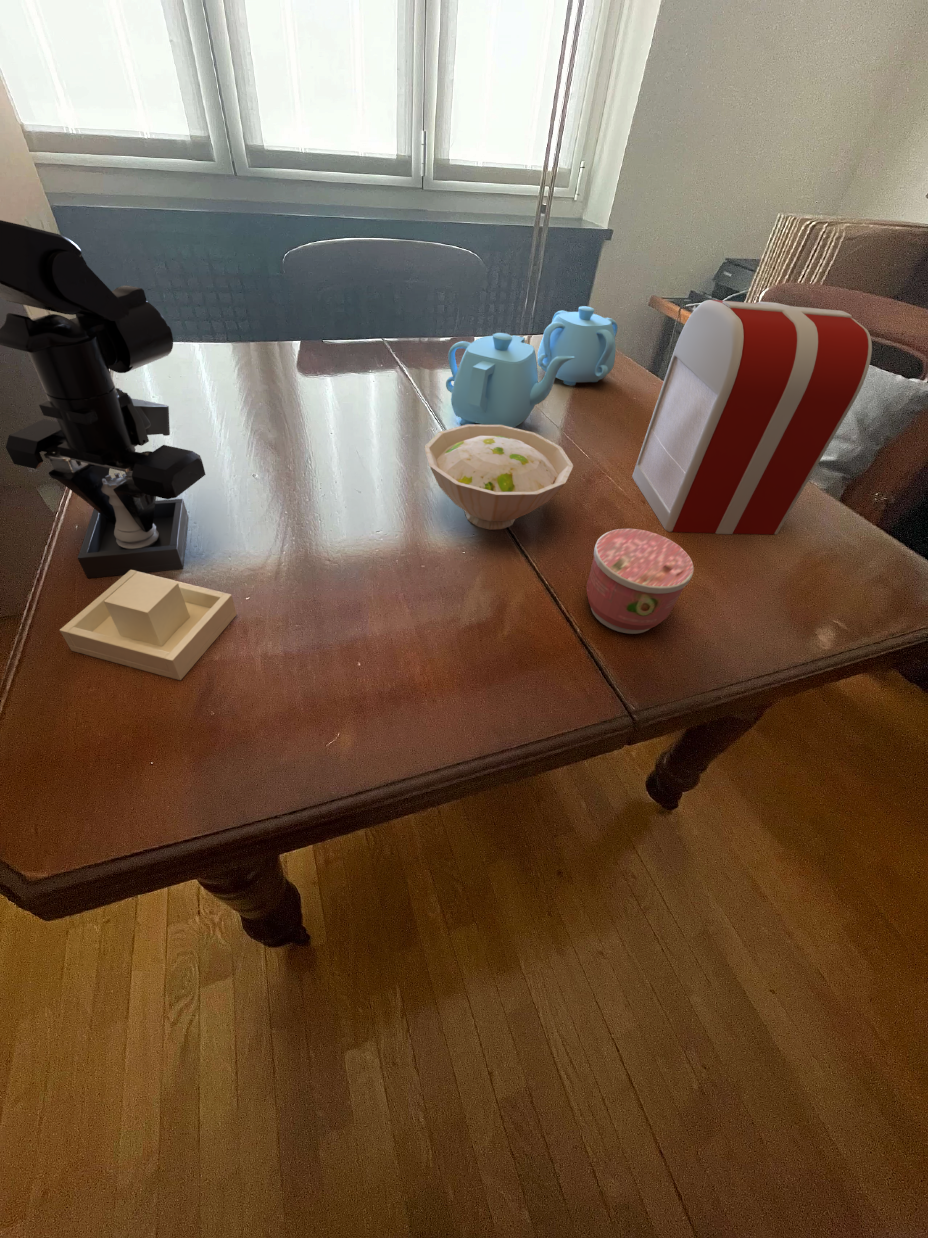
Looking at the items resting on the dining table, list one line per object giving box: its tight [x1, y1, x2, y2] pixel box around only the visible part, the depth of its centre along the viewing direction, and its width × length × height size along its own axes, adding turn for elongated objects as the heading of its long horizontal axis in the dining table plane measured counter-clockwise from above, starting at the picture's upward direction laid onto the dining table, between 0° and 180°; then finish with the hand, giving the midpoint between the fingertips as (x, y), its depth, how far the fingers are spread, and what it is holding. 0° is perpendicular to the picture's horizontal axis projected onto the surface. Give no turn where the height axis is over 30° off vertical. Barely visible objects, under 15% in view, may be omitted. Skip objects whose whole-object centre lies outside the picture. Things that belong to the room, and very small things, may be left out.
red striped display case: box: [631, 299, 873, 535], centre depth 75 cm, size 16×18×27 cm
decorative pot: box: [536, 305, 619, 386], centre depth 115 cm, size 16×16×14 cm
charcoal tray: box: [77, 498, 190, 579], centre depth 63 cm, size 11×10×3 cm
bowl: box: [424, 423, 574, 531], centre depth 73 cm, size 19×19×10 cm
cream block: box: [104, 573, 190, 647], centre depth 53 cm, size 4×4×4 cm
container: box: [585, 528, 695, 635], centre depth 61 cm, size 10×10×8 cm
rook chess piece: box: [101, 472, 159, 549], centre depth 61 cm, size 4×4×8 cm
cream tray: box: [59, 570, 238, 681], centre depth 54 cm, size 12×10×3 cm
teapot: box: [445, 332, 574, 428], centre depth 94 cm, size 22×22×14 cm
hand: (133, 526), depth 62 cm, fingers closed on rook chess piece, 3 cm apart
